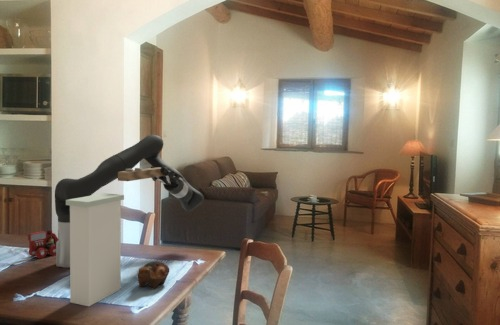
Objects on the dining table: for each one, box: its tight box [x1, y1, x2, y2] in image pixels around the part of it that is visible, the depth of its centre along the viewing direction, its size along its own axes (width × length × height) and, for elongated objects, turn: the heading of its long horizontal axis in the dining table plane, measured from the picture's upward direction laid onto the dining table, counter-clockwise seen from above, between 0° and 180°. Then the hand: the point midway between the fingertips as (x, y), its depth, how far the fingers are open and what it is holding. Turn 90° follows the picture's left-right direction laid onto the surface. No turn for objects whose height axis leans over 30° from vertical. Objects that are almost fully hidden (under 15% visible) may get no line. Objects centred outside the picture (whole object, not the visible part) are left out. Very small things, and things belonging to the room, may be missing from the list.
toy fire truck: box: [27, 229, 58, 259], centre depth 159 cm, size 7×12×10 cm, turn 147°
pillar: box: [66, 192, 125, 307], centre depth 119 cm, size 16×8×31 cm, turn 160°
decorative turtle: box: [137, 261, 170, 290], centre depth 129 cm, size 10×15×8 cm, turn 165°
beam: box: [117, 167, 168, 182], centre depth 141 cm, size 25×4×4 cm, turn 160°
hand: (156, 168), depth 148 cm, fingers closed on beam, 4 cm apart
